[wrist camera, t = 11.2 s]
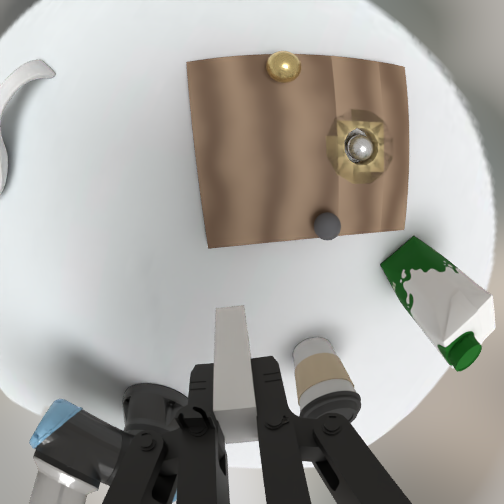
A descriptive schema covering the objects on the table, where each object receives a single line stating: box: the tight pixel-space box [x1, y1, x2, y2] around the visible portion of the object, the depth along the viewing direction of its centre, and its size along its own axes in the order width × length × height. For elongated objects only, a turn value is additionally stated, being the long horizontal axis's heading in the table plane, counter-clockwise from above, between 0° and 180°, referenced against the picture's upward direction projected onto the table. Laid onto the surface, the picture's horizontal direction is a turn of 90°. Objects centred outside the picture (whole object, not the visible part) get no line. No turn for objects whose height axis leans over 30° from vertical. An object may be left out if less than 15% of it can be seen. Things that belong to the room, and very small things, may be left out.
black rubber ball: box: [314, 212, 341, 240], centre depth 32 cm, size 3×3×3 cm
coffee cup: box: [293, 337, 361, 423], centre depth 39 cm, size 9×9×15 cm
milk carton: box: [380, 236, 495, 371], centre depth 30 cm, size 9×9×20 cm
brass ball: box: [266, 51, 301, 83], centre depth 24 cm, size 4×4×4 cm
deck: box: [186, 54, 409, 249], centre depth 30 cm, size 26×22×2 cm
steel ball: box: [348, 135, 373, 160], centre depth 30 cm, size 3×3×3 cm
